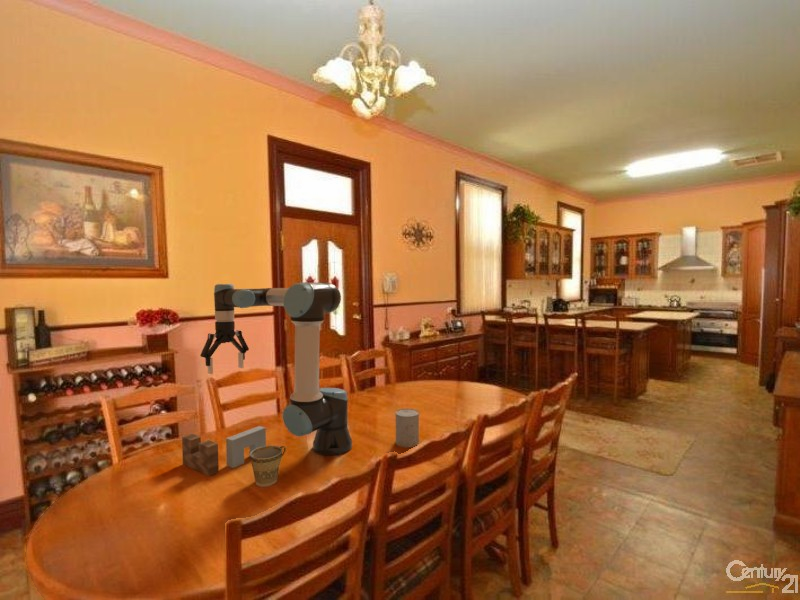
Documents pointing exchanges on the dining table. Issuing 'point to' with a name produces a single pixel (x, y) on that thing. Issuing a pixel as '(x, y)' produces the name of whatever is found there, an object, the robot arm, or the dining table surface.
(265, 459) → the ceramic cup
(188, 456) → the walnut upright
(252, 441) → the grey arch block
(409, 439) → the grey cylinder
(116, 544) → the dining table surface
